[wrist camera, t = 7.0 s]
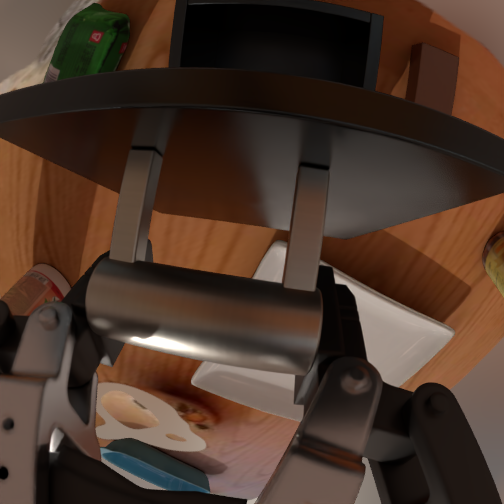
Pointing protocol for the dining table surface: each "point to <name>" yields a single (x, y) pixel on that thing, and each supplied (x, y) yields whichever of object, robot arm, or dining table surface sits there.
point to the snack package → (89, 44)
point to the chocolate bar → (432, 77)
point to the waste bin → (279, 38)
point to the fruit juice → (36, 290)
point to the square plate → (375, 338)
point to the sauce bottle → (495, 260)
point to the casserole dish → (154, 466)
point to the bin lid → (243, 191)
